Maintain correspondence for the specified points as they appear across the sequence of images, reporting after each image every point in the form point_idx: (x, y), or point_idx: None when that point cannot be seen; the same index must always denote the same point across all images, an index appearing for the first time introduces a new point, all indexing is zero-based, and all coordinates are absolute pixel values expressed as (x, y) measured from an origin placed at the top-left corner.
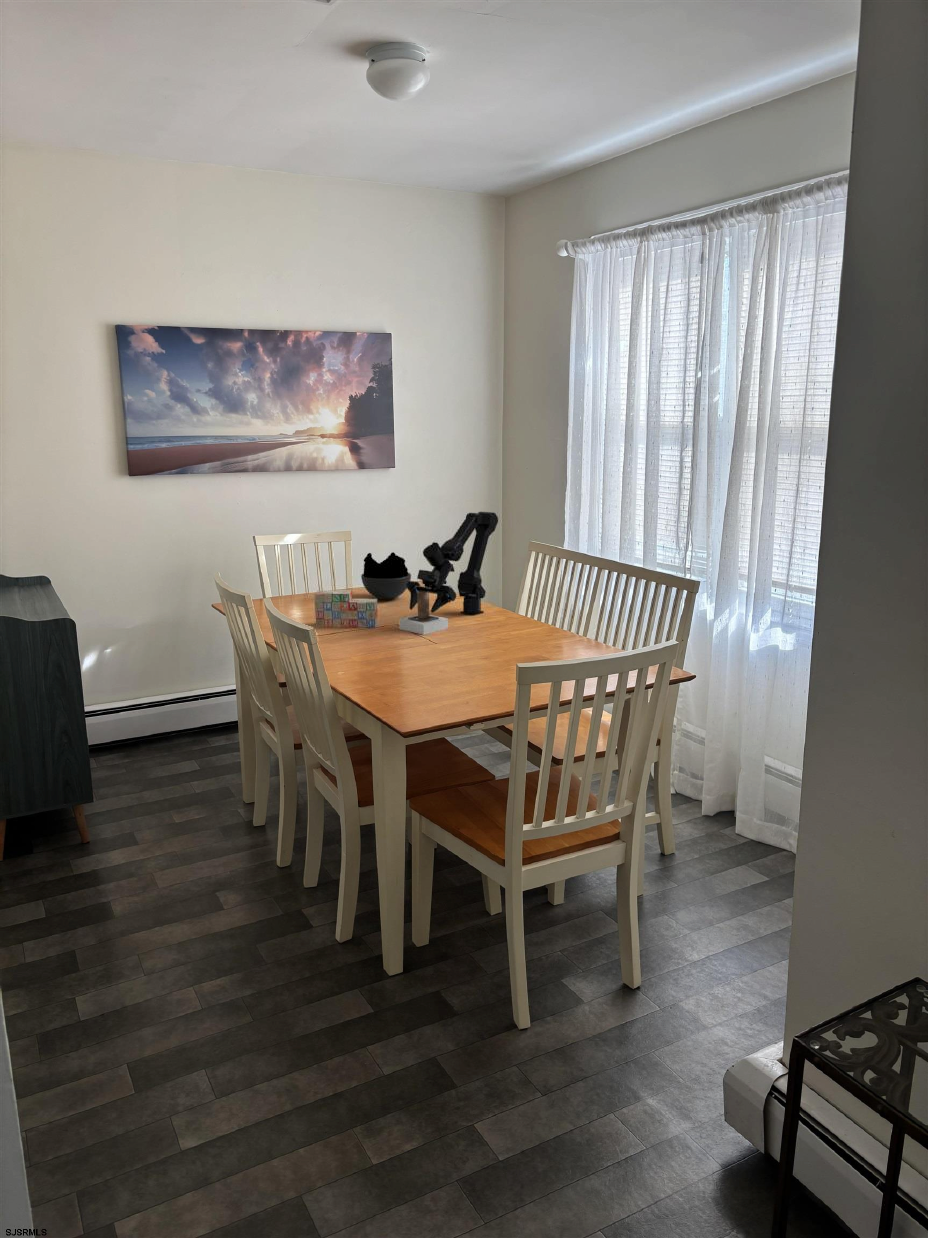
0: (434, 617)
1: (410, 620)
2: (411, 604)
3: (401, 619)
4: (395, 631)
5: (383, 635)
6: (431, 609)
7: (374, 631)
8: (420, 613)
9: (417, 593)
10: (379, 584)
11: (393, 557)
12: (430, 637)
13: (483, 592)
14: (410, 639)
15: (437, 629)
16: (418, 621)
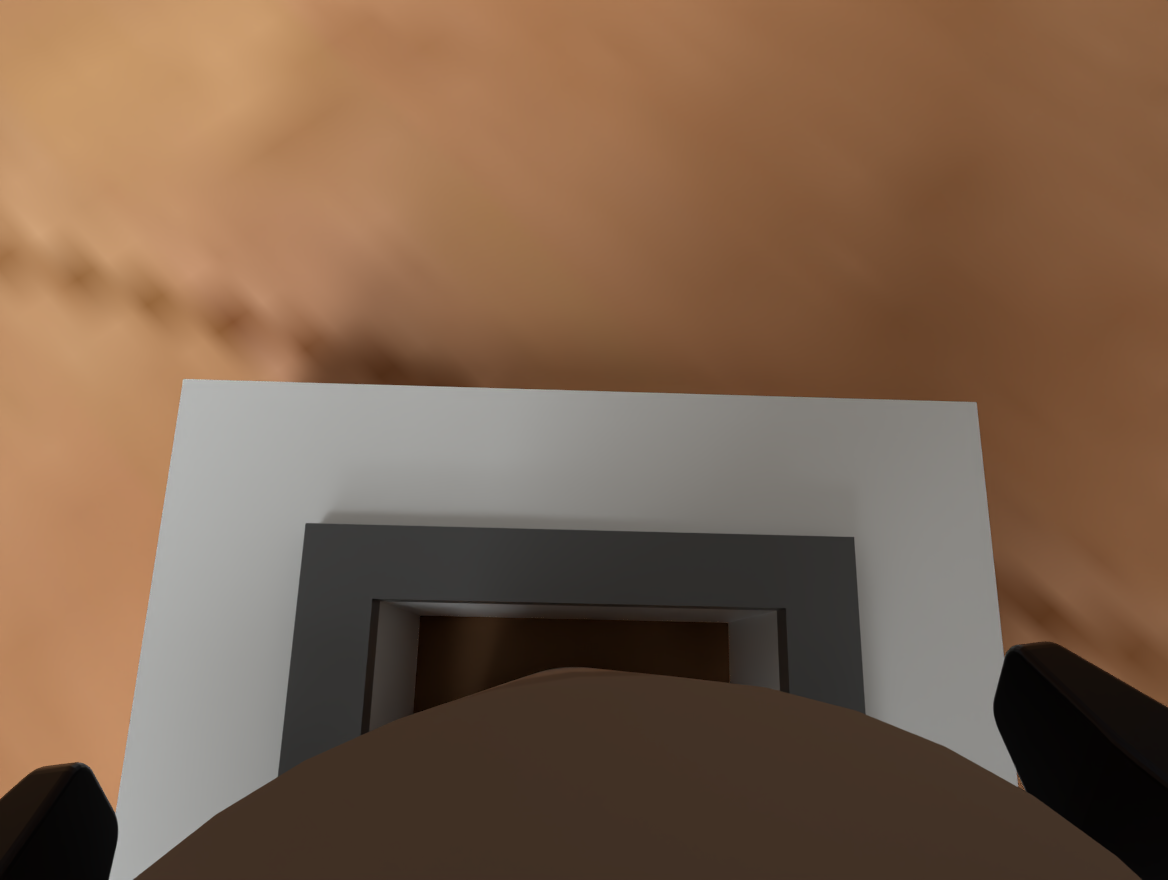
0: None
1: (699, 480)
2: (1107, 729)
3: (923, 419)
4: (805, 302)
5: (743, 29)
6: (25, 802)
7: (1040, 108)
8: (539, 672)
9: (1023, 814)
10: None
11: None
12: (42, 376)
13: None
14: (246, 99)
15: None
16: (482, 527)
